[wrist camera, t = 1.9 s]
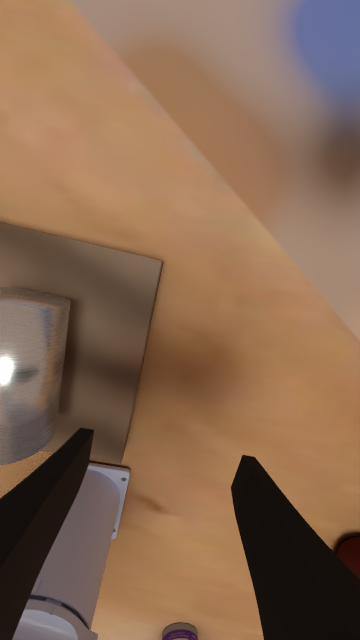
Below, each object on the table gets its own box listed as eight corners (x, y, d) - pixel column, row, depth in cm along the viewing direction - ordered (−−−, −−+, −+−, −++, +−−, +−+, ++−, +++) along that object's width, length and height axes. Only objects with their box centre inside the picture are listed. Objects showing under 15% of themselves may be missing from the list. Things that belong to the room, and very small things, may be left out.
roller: (65, 411, 18) (41, 464, 13) (-4, 407, 17) (-57, 465, 12) (78, 297, 16) (55, 313, 11) (0, 283, 15) (-63, 295, 10)
